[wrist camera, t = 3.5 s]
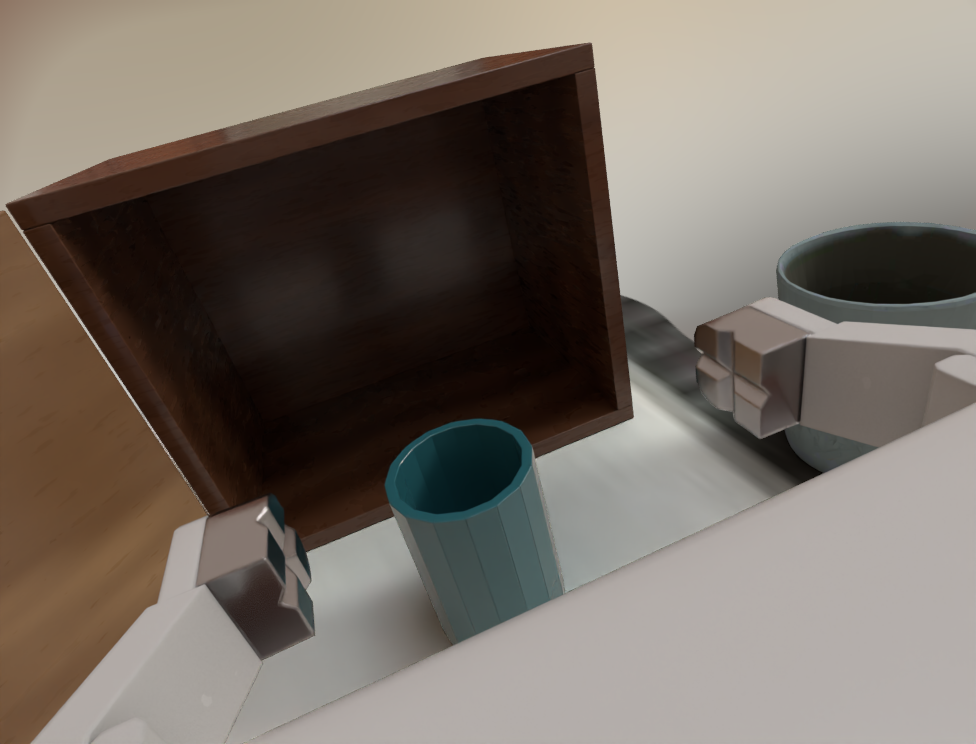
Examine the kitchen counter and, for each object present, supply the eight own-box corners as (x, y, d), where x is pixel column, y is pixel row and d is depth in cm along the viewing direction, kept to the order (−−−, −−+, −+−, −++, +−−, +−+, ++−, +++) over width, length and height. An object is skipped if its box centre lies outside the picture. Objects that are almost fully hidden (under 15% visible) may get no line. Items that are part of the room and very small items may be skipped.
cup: (589, 627, 28) (557, 480, 23) (462, 688, 27) (400, 546, 22) (535, 536, 34) (501, 402, 29) (429, 582, 33) (374, 451, 28)
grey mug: (957, 401, 36) (1003, 216, 30) (981, 517, 29) (1049, 305, 22) (777, 386, 41) (785, 226, 35) (760, 481, 34) (766, 301, 28)
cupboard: (634, 417, 41) (592, 42, 29) (249, 575, 36) (3, 204, 24) (537, 328, 57) (483, 57, 44) (257, 431, 52) (108, 159, 39)
